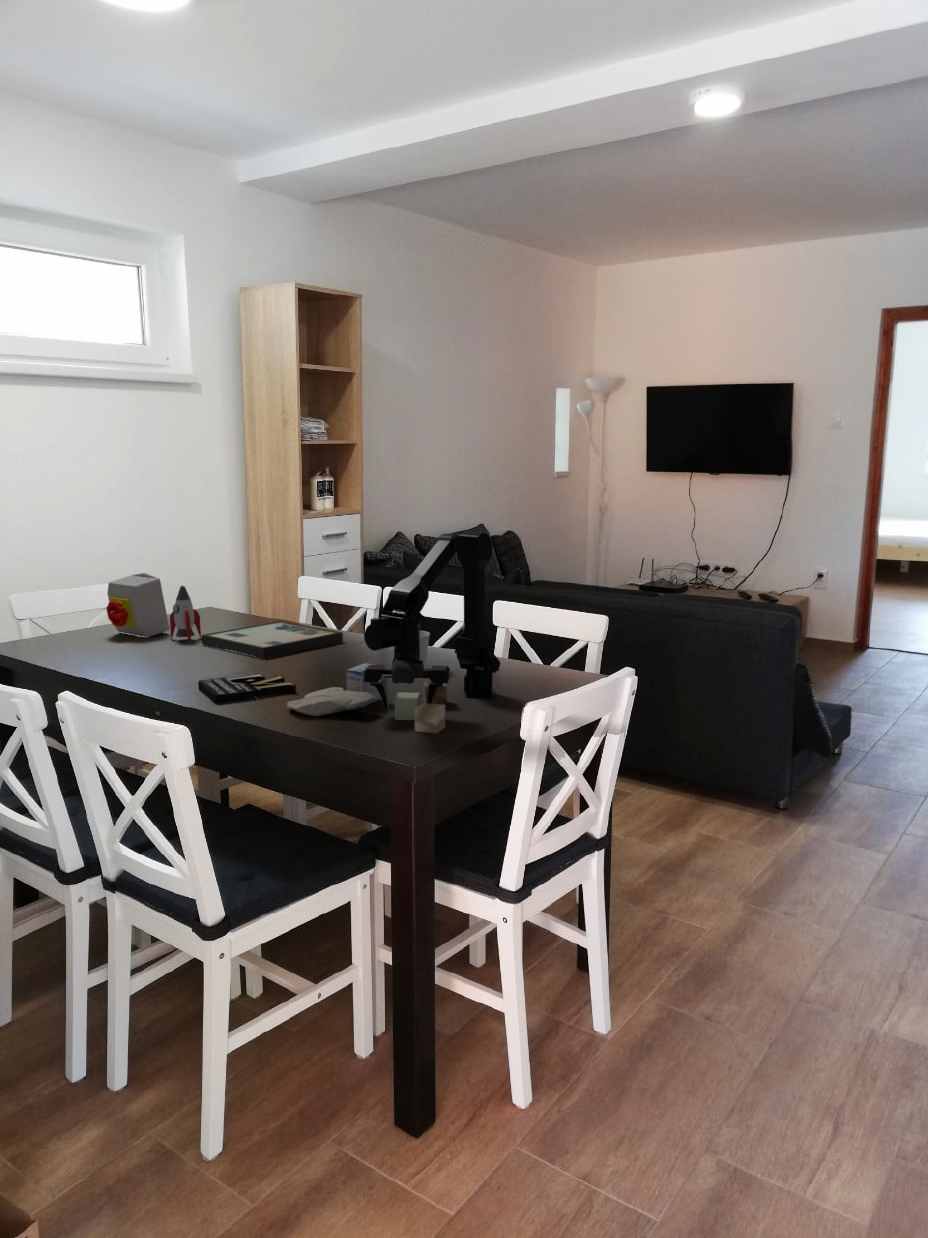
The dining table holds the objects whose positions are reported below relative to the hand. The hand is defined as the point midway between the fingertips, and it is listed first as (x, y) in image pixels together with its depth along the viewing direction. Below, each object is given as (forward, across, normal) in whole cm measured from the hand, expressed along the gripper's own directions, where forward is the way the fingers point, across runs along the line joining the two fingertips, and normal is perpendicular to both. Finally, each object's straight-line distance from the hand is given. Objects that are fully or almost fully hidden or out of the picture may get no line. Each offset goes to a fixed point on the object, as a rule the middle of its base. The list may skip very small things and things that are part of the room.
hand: (407, 711), depth 211 cm
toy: (+2, -80, +80) cm, 113 cm away
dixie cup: (+2, -4, +45) cm, 45 cm away
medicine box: (+2, -12, +11) cm, 16 cm away
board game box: (+2, -52, +76) cm, 92 cm away
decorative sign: (+2, -43, +20) cm, 47 cm away
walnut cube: (+1, +5, +11) cm, 12 cm away
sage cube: (+1, 0, 0) cm, 1 cm away
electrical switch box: (+2, -100, +86) cm, 132 cm away
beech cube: (+1, +6, -9) cm, 11 cm away
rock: (+2, -20, +3) cm, 20 cm away
